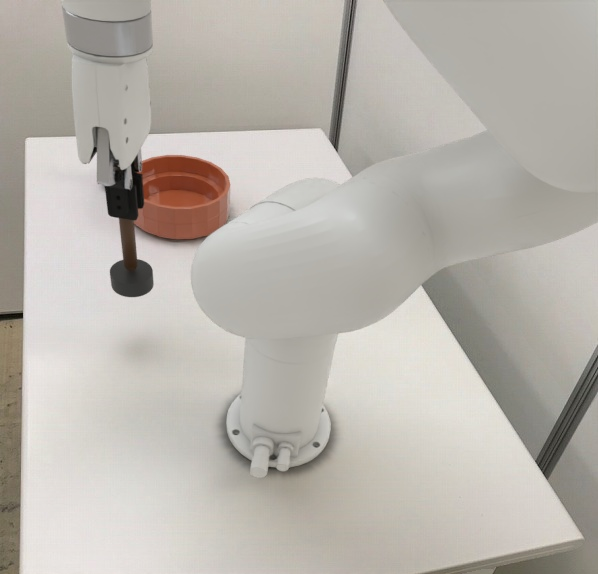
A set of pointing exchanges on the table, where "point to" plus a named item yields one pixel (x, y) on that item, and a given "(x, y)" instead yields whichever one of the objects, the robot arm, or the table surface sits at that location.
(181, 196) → the bowl
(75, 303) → the table surface
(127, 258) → the plunger
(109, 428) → the table surface
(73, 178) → the table surface
